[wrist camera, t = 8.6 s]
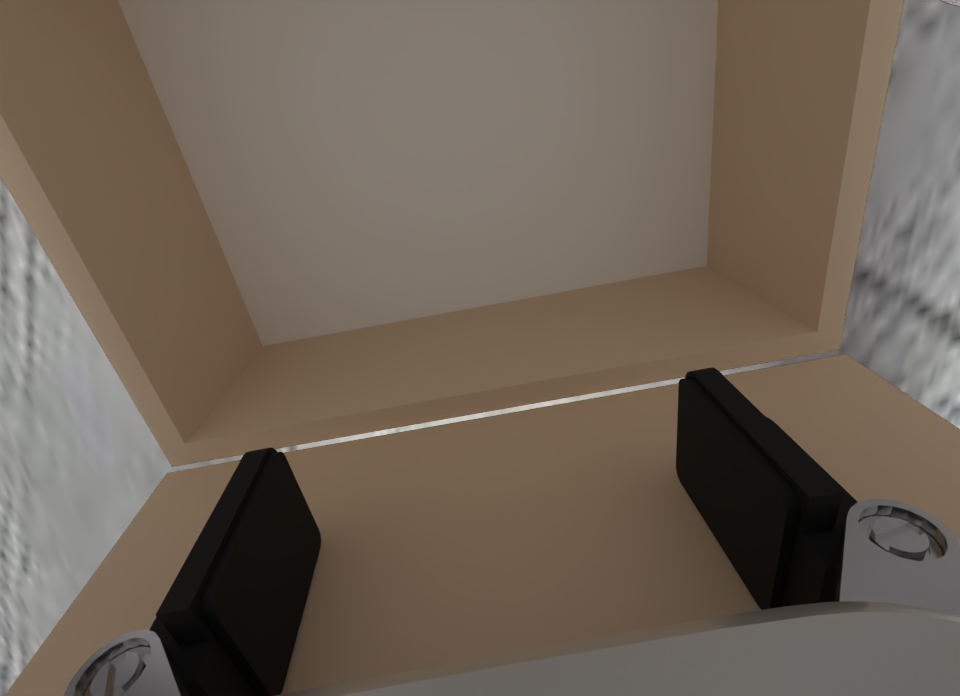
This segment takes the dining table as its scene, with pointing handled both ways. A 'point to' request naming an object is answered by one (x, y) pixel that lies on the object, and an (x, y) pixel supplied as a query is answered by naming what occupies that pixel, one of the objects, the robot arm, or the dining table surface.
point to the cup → (953, 2)
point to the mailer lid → (513, 526)
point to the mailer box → (438, 196)
